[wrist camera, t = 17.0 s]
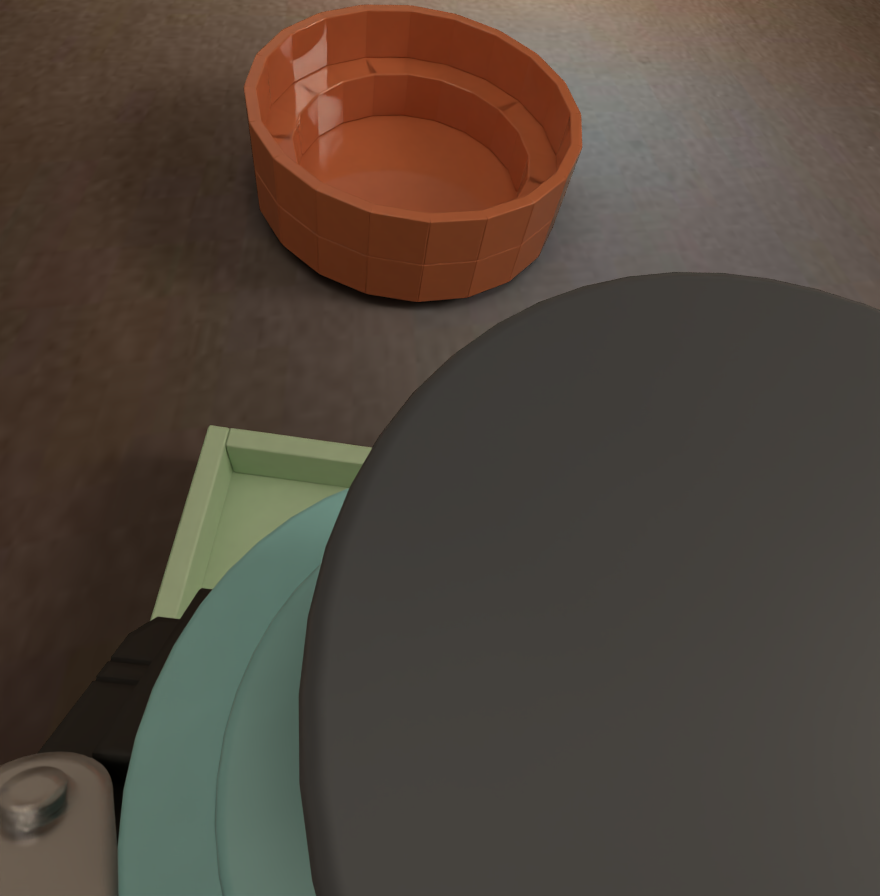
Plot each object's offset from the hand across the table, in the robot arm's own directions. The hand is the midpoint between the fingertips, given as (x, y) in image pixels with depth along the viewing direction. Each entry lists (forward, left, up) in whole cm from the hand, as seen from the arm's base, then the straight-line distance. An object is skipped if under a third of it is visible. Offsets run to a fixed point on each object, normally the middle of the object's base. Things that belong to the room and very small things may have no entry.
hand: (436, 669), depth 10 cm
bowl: (-2, +24, -11) cm, 27 cm away
